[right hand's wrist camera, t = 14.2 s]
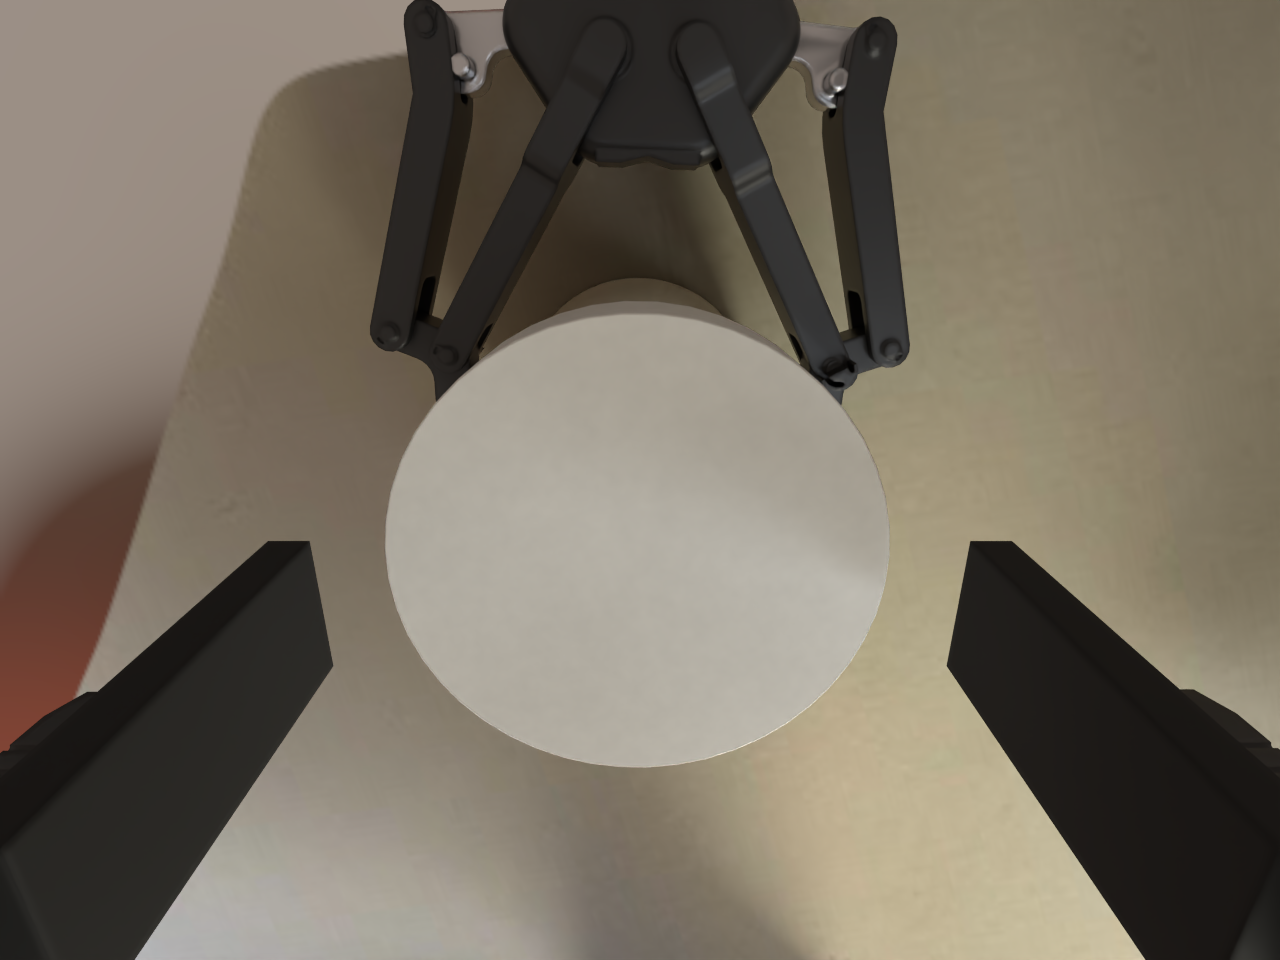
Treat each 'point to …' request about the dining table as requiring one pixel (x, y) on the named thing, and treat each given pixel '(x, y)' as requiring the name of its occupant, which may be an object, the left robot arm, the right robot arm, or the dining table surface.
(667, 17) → the left robot arm
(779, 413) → the lid
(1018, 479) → the dining table surface
